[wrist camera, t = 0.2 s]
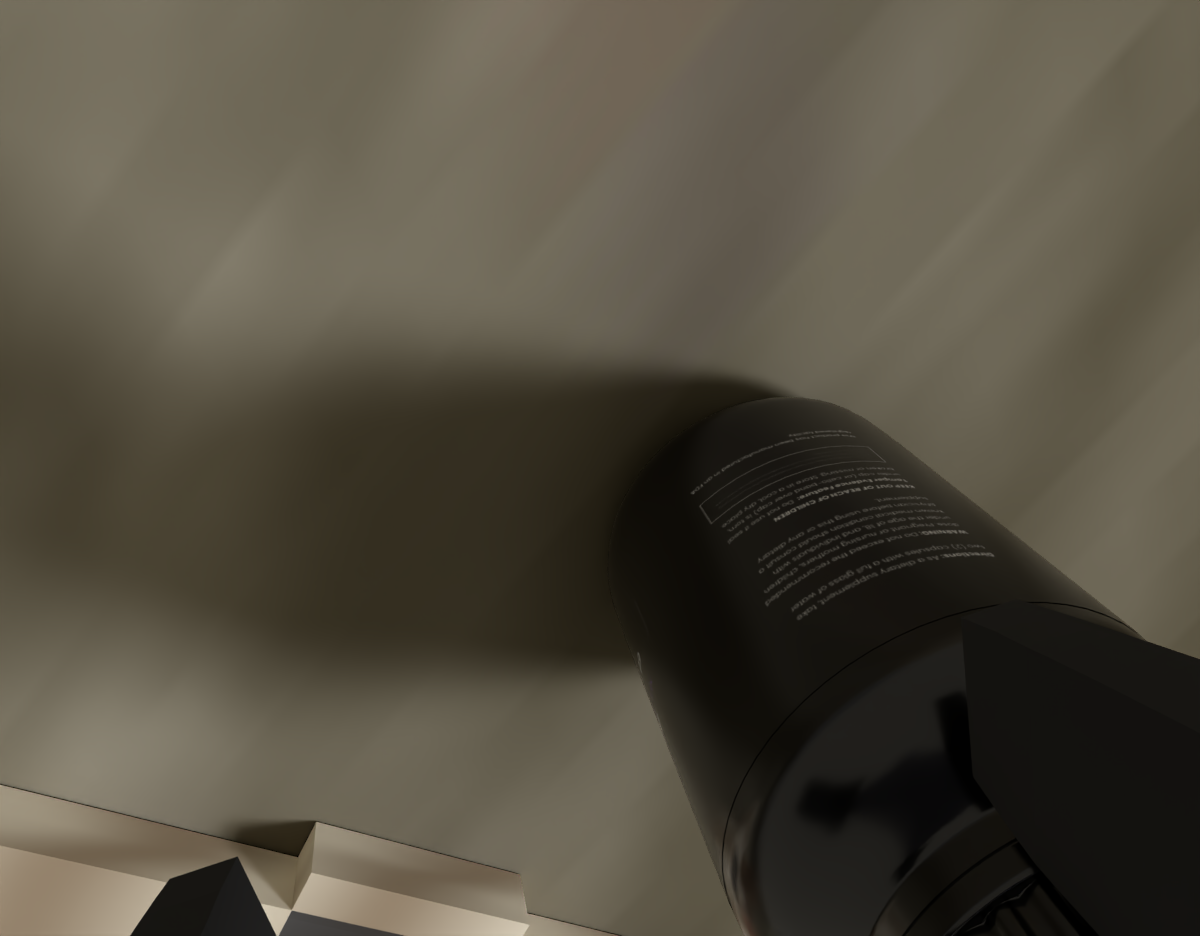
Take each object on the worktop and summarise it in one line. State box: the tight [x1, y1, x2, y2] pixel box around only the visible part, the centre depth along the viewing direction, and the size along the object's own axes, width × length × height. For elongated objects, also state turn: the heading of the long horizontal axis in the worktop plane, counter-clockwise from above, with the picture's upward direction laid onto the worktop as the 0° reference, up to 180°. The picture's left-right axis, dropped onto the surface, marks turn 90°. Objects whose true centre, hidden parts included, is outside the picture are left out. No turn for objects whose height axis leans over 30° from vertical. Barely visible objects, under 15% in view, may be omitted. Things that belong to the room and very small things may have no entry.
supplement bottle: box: [608, 397, 1146, 936], centre depth 14 cm, size 7×7×12 cm
